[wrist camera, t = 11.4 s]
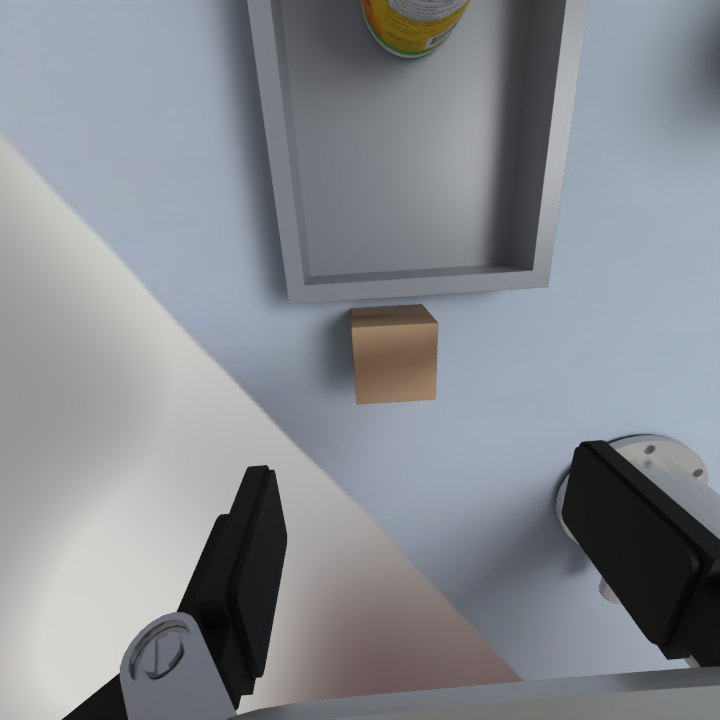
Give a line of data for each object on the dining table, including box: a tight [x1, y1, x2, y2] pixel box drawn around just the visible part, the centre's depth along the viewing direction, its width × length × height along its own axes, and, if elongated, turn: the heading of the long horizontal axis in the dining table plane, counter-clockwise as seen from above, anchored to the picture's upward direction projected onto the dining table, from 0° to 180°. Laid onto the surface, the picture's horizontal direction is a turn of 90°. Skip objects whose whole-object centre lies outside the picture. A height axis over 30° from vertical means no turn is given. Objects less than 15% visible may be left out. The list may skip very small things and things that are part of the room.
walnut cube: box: [352, 304, 438, 404], centre depth 23 cm, size 5×5×5 cm
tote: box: [247, 0, 589, 304], centre depth 18 cm, size 22×15×4 cm
